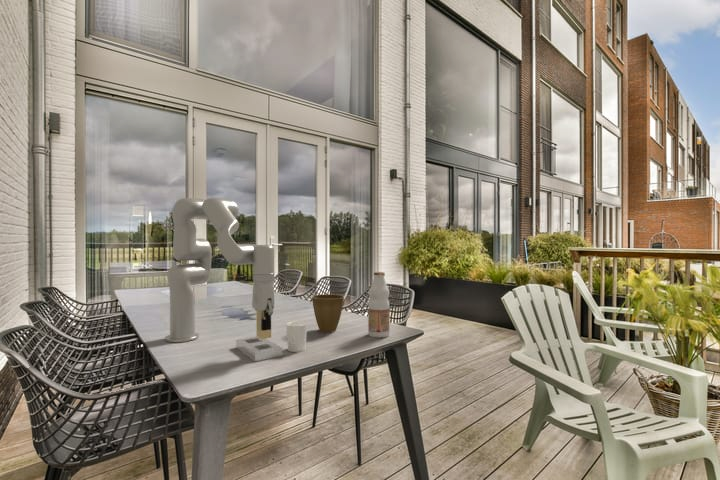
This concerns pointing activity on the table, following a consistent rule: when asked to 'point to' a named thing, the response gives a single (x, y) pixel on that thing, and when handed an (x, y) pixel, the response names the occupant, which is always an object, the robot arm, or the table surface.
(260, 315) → the brass square peg
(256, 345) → the rail
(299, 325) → the white cup
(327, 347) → the table surface
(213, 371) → the table surface
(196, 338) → the robot arm
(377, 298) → the fruit juice
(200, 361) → the table surface
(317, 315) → the plant pot
